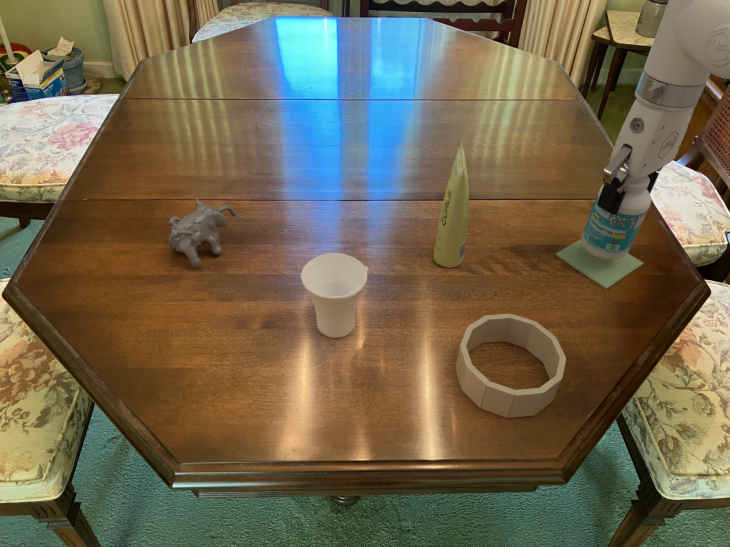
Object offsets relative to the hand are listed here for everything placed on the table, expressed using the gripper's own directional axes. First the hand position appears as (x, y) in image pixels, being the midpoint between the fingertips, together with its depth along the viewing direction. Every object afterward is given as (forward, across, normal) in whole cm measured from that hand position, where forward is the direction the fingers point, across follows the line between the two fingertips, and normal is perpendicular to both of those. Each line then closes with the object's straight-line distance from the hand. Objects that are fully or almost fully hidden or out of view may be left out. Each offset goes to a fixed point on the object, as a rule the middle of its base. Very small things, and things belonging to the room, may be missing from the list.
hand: (623, 199), depth 83 cm
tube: (+12, -20, +15) cm, 28 cm away
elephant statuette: (+12, -51, +41) cm, 67 cm away
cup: (+12, -43, +14) cm, 47 cm away
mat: (+12, 0, 0) cm, 12 cm away
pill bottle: (+10, 0, 0) cm, 10 cm away
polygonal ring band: (+12, -30, -7) cm, 33 cm away
